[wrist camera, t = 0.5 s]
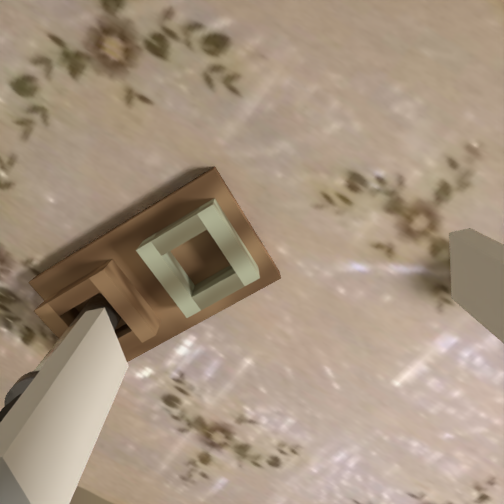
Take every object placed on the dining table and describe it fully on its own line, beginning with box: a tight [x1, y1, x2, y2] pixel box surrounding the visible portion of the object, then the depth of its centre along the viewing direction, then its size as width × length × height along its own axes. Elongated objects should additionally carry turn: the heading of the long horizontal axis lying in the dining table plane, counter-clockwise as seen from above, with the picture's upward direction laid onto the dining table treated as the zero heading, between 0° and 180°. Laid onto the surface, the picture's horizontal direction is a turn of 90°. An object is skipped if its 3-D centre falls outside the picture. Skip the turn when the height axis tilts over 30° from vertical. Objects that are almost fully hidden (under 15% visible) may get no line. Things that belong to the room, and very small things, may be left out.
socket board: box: [29, 167, 281, 362], centre depth 41 cm, size 14×24×5 cm, turn 120°
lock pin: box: [5, 294, 121, 406], centre depth 36 cm, size 5×5×15 cm
